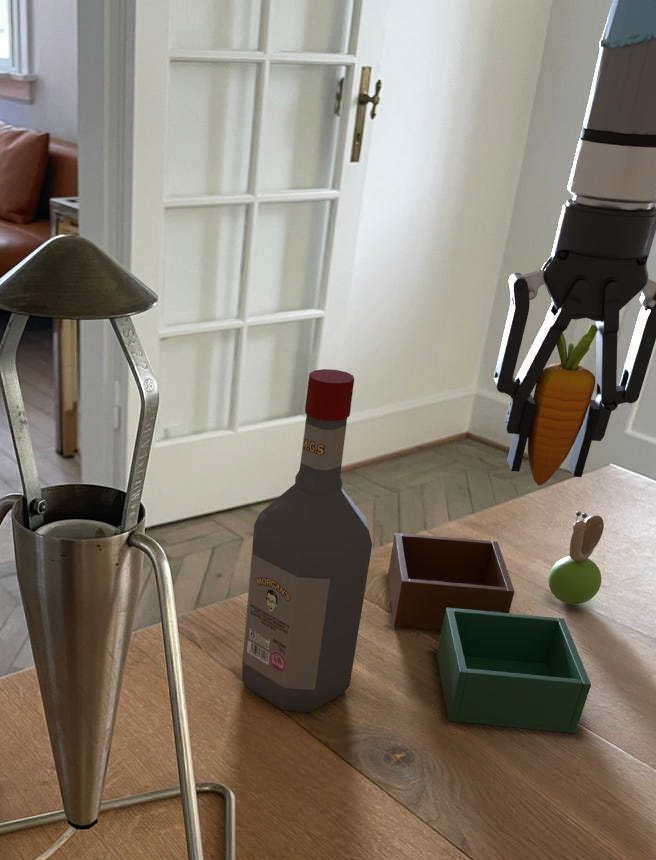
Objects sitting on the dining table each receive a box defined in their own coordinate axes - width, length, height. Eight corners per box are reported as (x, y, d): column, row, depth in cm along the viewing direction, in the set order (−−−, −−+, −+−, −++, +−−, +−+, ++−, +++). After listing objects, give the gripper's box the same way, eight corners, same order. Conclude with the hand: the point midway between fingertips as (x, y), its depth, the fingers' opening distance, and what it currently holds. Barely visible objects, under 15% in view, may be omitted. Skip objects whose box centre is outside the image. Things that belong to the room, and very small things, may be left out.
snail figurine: (530, 602, 108) (556, 504, 102) (557, 584, 112) (584, 488, 105) (575, 621, 105) (606, 521, 98) (602, 602, 109) (633, 504, 102)
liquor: (297, 723, 88) (338, 402, 72) (227, 678, 94) (250, 371, 77) (361, 686, 93) (412, 380, 77) (291, 646, 99) (326, 352, 83)
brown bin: (487, 584, 111) (497, 541, 108) (503, 636, 102) (514, 591, 99) (387, 575, 112) (395, 532, 109) (393, 626, 103) (402, 581, 100)
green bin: (550, 664, 98) (564, 618, 95) (575, 733, 88) (591, 684, 85) (436, 653, 99) (446, 607, 96) (448, 720, 89) (460, 671, 86)
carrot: (513, 491, 91) (552, 329, 83) (511, 471, 95) (549, 315, 87) (568, 499, 90) (614, 335, 82) (564, 478, 94) (607, 321, 86)
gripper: (714, 201, 81) (632, 462, 93) (494, 187, 83) (443, 445, 95) (745, 215, 75) (653, 493, 87) (507, 200, 76) (450, 475, 89)
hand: (543, 468), depth 91 cm, fingers closed on carrot, 5 cm apart
